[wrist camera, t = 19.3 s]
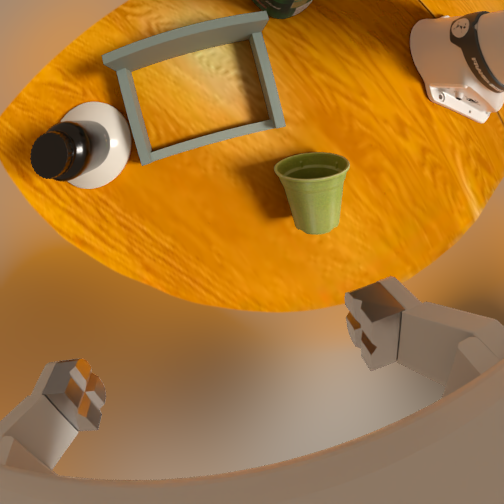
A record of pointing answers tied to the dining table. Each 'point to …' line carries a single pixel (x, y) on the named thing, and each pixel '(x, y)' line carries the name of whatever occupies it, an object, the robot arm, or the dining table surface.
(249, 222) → the dining table surface
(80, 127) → the supplement bottle
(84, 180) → the white round glossy part
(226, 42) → the cold frame
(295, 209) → the plant pot
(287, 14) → the coffee jar
